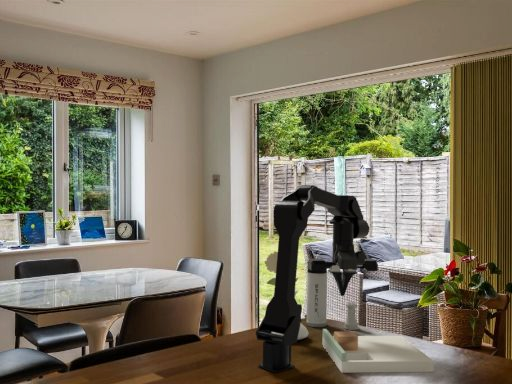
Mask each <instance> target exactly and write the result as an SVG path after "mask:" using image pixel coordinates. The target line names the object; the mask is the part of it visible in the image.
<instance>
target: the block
mask: <svg viewBox="0 0 512 384" xmlns="http://www.w3.org/2000/svg"><path fill="white" fill-rule="evenodd" d="M333 336H334V339H335V340H336V341H337V343H338V344H339V345H340V346H341V348H342V349H343V350H344V351H358V336H359V335H357V334H356V333H355V332H354V330H351V331H333Z"/></svg>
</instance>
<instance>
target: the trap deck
mask: <svg viewBox="0 0 512 384" xmlns="http://www.w3.org/2000/svg"><path fill="white" fill-rule="evenodd" d="M357 336H358V351H344V350H343V349H342V348H341V346H340V345H339V344H338V343H337V341H336V340H335V339H334V335H332V334H331V333H330V331H329V330H328V329H327V328H322V340H321V341H322V345H323V346H322V347H323V348H324V350H325V349H326V350H325V351H326V352H328V353H327V354H328V356H329V357H330V358H331V360H332V361H333V362H335V363H334V364H335V365H336V367H337V368H338V369H339V370H338V371H340V373H341V374H342V373H343V374H344V373H348V374H349V373H420V372H421V373H432V372H435V360H433V359H432V358H431V357H430V356H428V355H427V354H426V353H424V352H423V351H421V350H420V349H419V348H418V347H416V346H415V345H413V343H411V342H410V341H408V340H407V339H406V338H404V337H403V336H402V335H357Z"/></svg>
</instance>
